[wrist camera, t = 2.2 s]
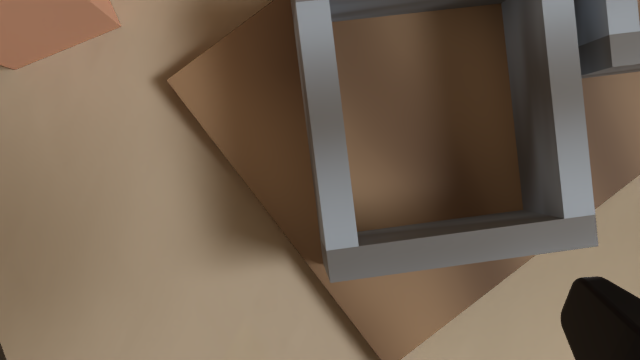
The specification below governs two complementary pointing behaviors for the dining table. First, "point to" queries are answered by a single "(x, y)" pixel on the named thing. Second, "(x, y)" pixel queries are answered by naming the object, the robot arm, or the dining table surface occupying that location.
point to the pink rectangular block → (49, 27)
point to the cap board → (425, 140)
